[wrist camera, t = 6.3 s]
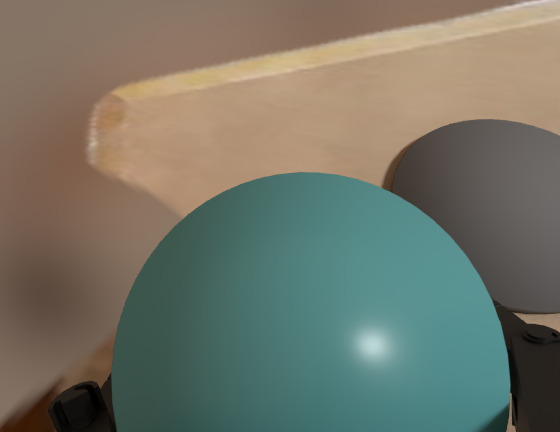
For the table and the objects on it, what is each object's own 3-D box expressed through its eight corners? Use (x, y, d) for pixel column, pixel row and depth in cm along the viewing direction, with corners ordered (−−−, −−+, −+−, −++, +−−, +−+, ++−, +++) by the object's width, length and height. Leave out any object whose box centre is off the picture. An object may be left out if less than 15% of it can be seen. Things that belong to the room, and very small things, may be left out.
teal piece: (424, 320, 19) (530, 227, 9) (374, 533, 15) (470, 752, 5) (266, 260, 22) (224, 142, 12) (187, 424, 17) (29, 438, 8)
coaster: (464, 98, 27) (467, 92, 26) (673, 198, 21) (682, 193, 20) (348, 210, 23) (348, 205, 22) (565, 372, 17) (573, 371, 16)
